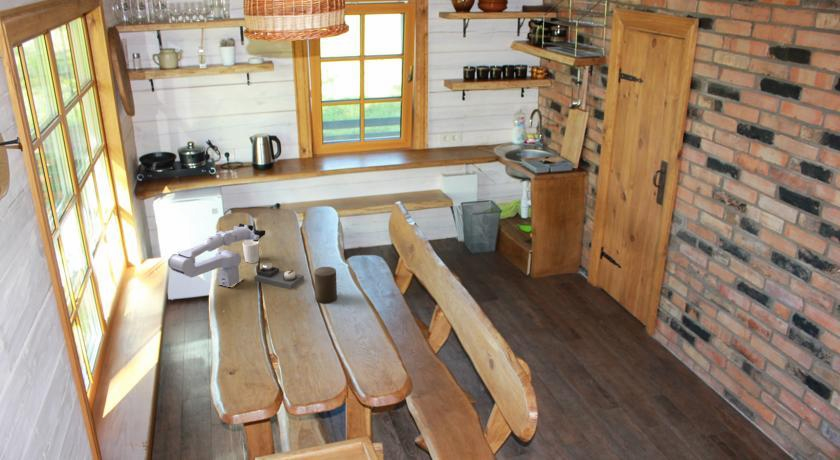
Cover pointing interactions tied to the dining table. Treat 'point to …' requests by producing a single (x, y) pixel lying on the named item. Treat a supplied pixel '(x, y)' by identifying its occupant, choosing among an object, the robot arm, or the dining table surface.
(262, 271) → the console
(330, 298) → the pillar candle
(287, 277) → the dial knob
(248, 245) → the white cup
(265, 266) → the press knob
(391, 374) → the dining table surface
